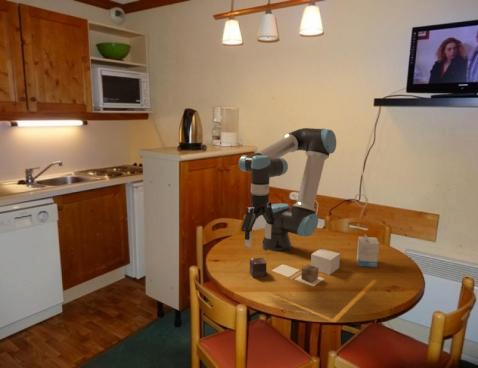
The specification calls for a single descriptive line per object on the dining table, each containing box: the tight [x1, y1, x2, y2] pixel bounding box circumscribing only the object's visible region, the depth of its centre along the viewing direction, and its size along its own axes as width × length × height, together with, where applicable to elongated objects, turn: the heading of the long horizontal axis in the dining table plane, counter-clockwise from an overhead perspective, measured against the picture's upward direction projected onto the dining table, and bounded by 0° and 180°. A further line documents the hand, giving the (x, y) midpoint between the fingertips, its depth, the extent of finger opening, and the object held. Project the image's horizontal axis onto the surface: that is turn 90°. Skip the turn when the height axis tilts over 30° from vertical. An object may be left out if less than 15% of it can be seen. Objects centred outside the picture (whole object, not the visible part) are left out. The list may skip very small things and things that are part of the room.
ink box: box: [356, 233, 380, 268], centre depth 163 cm, size 9×8×13 cm
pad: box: [271, 264, 300, 278], centre depth 153 cm, size 9×9×1 cm
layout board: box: [289, 270, 325, 287], centre depth 150 cm, size 22×14×1 cm, turn 49°
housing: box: [310, 248, 341, 276], centre depth 155 cm, size 9×9×8 cm
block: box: [301, 263, 319, 283], centre depth 145 cm, size 5×5×5 cm
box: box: [249, 257, 267, 279], centre depth 149 cm, size 6×6×7 cm
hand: (258, 242), depth 146 cm, fingers open, 13 cm apart
